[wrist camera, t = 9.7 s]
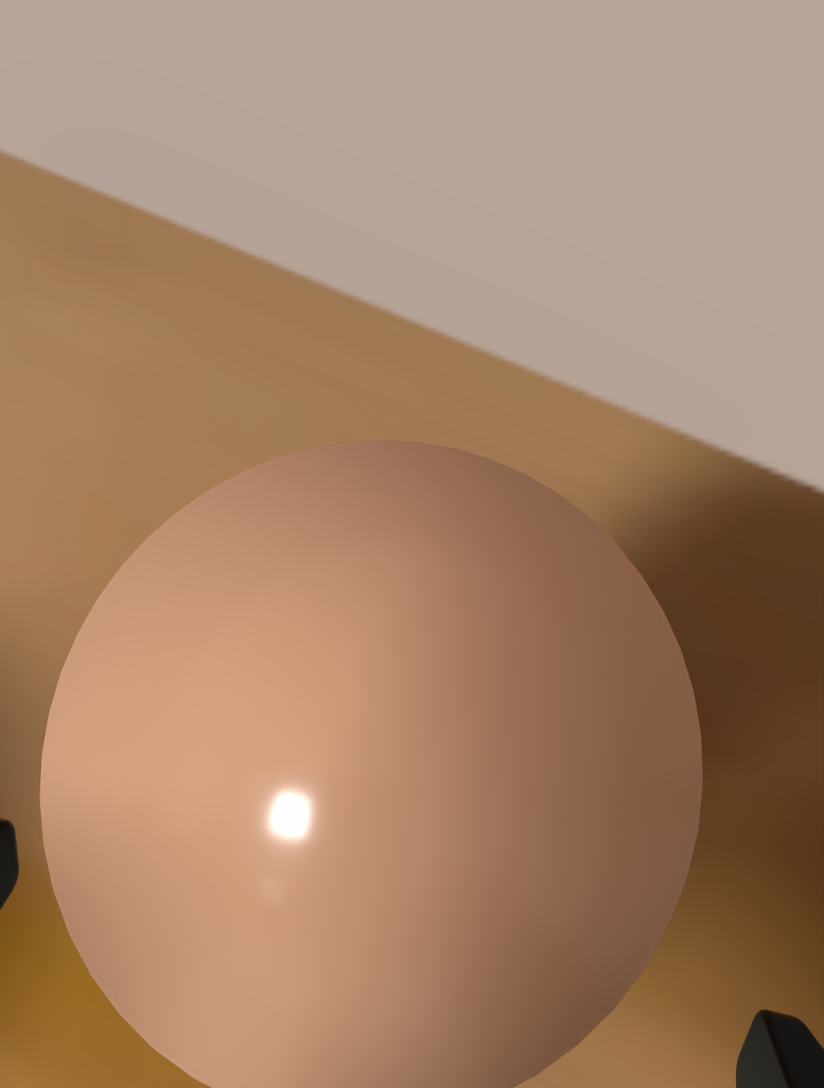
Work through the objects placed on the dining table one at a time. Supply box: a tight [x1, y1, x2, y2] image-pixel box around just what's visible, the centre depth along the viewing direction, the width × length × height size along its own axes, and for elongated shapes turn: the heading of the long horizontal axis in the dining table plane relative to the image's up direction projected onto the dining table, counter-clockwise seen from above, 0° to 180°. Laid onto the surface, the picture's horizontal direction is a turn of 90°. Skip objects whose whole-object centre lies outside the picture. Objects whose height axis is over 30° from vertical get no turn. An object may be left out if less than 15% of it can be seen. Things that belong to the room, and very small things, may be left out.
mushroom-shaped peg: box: [40, 440, 703, 1088], centre depth 12 cm, size 6×6×11 cm
